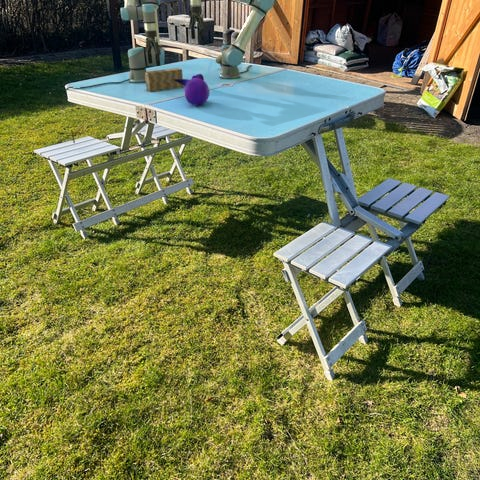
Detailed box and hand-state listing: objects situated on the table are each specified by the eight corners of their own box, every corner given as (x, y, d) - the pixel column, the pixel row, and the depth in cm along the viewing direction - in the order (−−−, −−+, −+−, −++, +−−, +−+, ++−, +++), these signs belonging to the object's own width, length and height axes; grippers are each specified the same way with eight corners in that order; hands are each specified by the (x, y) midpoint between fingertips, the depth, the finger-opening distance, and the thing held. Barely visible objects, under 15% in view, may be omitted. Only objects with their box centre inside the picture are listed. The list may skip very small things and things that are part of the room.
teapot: (219, 71, 369) (218, 51, 361) (212, 69, 377) (212, 49, 370) (241, 68, 378) (241, 49, 370) (234, 66, 386) (234, 47, 379)
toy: (197, 96, 290) (209, 111, 269) (171, 92, 283) (181, 106, 262) (203, 71, 282) (215, 85, 261) (175, 66, 275) (186, 79, 254)
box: (150, 91, 306) (148, 73, 300) (146, 90, 311) (144, 71, 305) (183, 87, 318) (182, 69, 312) (179, 85, 323) (177, 67, 317)
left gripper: (163, 31, 287) (167, 66, 298) (148, 28, 306) (152, 62, 316) (152, 32, 284) (156, 67, 294) (138, 29, 302) (142, 63, 313)
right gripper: (209, 6, 298) (211, 41, 308) (192, 5, 316) (194, 37, 327) (199, 6, 294) (201, 41, 305) (182, 5, 313) (185, 38, 323)
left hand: (154, 64), depth 305 cm, fingers open, 13 cm apart
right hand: (197, 39), depth 316 cm, fingers open, 13 cm apart
